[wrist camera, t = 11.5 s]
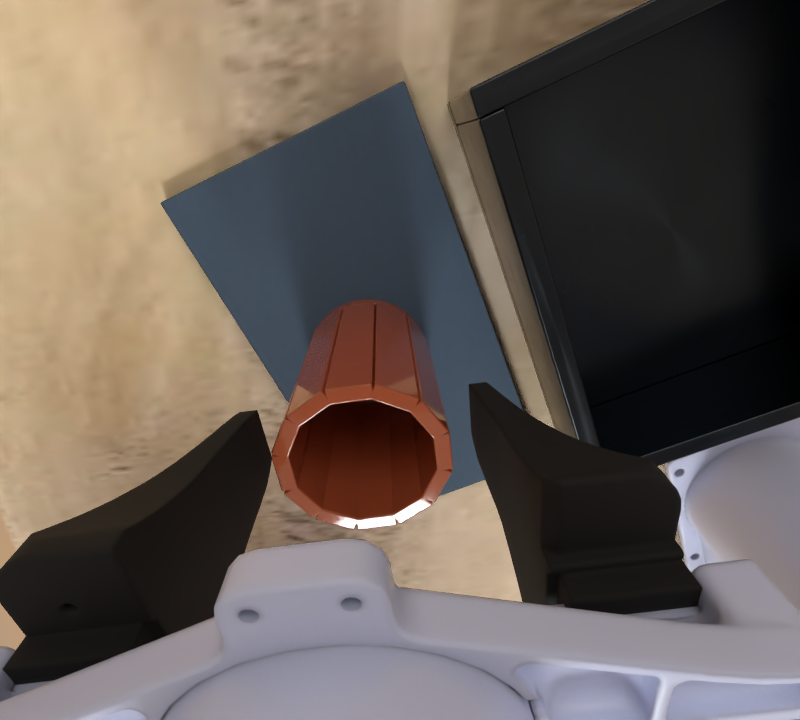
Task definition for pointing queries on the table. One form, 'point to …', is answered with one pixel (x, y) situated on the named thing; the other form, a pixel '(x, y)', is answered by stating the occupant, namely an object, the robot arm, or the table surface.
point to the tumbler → (365, 421)
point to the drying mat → (347, 251)
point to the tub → (652, 221)
